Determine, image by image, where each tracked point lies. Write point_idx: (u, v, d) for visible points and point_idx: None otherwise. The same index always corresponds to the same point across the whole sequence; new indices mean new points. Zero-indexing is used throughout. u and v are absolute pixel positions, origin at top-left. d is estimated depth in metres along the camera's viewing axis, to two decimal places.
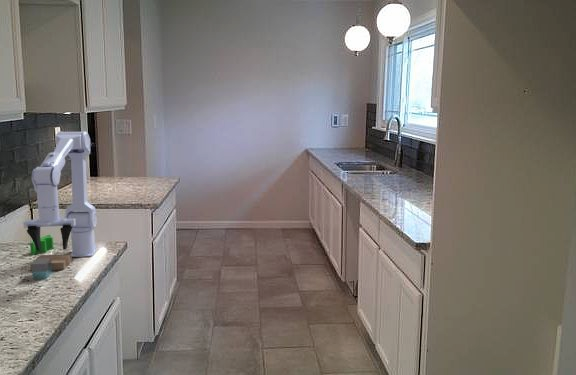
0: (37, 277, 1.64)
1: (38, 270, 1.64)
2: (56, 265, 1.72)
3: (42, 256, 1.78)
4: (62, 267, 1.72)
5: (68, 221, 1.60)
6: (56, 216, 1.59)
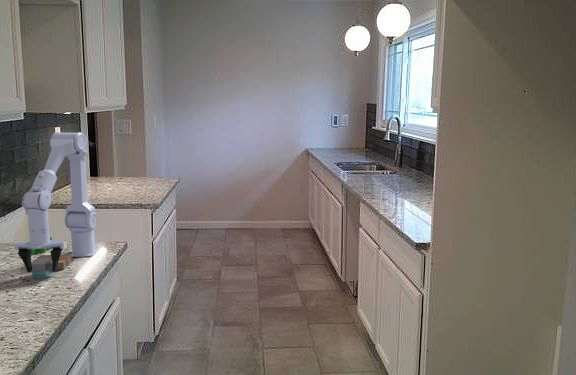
0: (37, 277, 1.64)
1: (38, 270, 1.64)
2: None
3: (42, 256, 1.78)
4: (62, 267, 1.72)
5: (58, 244, 1.65)
6: (47, 239, 1.64)
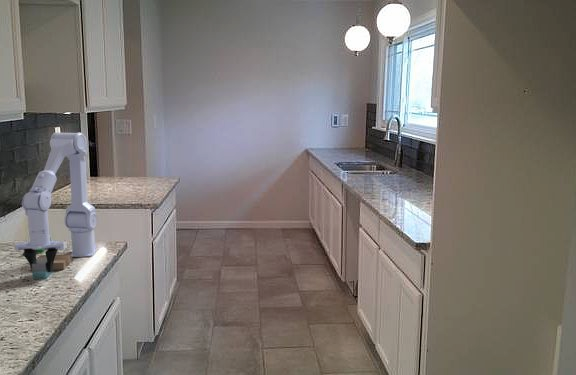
0: (37, 277, 1.64)
1: (38, 270, 1.64)
2: (56, 265, 1.72)
3: (42, 256, 1.78)
4: (62, 267, 1.72)
5: (58, 244, 1.65)
6: (47, 240, 1.64)
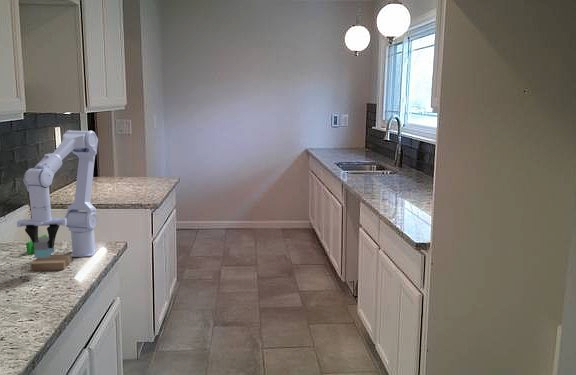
0: (39, 255, 1.66)
1: (40, 248, 1.65)
2: (56, 265, 1.72)
3: None
4: (62, 267, 1.72)
5: (59, 221, 1.67)
6: (48, 216, 1.66)
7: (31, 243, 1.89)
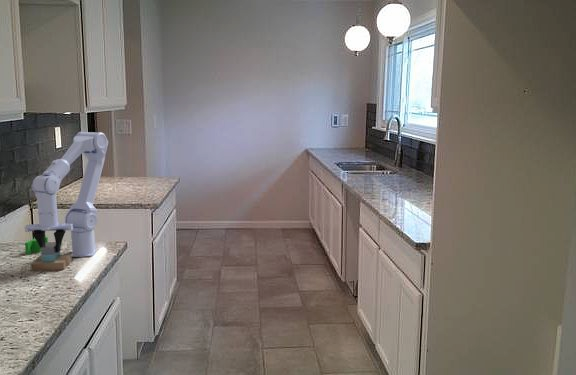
0: (46, 260, 1.72)
1: (47, 253, 1.72)
2: (56, 265, 1.72)
3: None
4: (62, 267, 1.72)
5: (66, 226, 1.73)
6: (55, 221, 1.73)
7: (30, 243, 1.89)
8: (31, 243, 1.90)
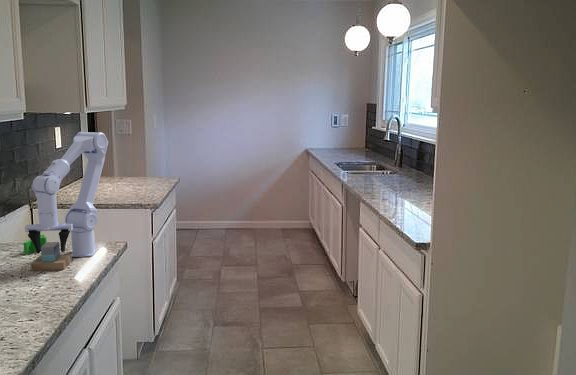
0: (46, 260, 1.72)
1: (47, 253, 1.72)
2: (56, 265, 1.72)
3: None
4: (62, 267, 1.72)
5: (66, 226, 1.73)
6: (55, 221, 1.73)
7: (28, 243, 1.89)
8: (30, 243, 1.90)
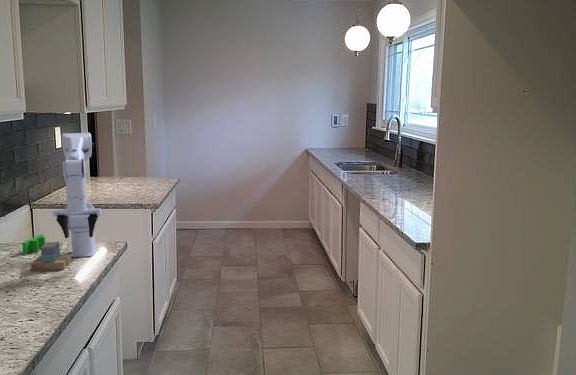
0: (46, 260, 1.72)
1: (47, 253, 1.72)
2: (56, 265, 1.72)
3: None
4: (62, 267, 1.72)
5: (94, 210, 1.71)
6: (84, 206, 1.70)
7: (27, 243, 1.89)
8: (28, 243, 1.90)
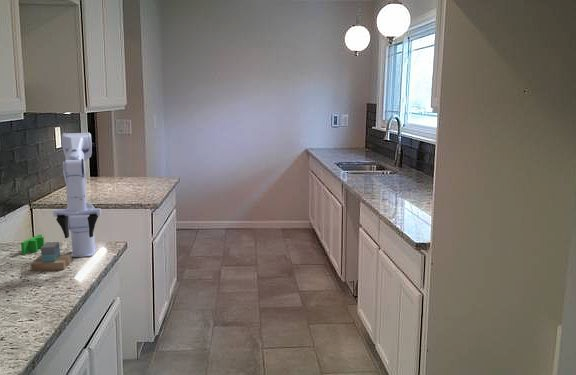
0: (46, 260, 1.72)
1: (47, 253, 1.72)
2: (56, 265, 1.72)
3: None
4: (62, 267, 1.72)
5: (94, 210, 1.71)
6: (84, 206, 1.70)
7: (26, 243, 1.89)
8: (27, 243, 1.90)
